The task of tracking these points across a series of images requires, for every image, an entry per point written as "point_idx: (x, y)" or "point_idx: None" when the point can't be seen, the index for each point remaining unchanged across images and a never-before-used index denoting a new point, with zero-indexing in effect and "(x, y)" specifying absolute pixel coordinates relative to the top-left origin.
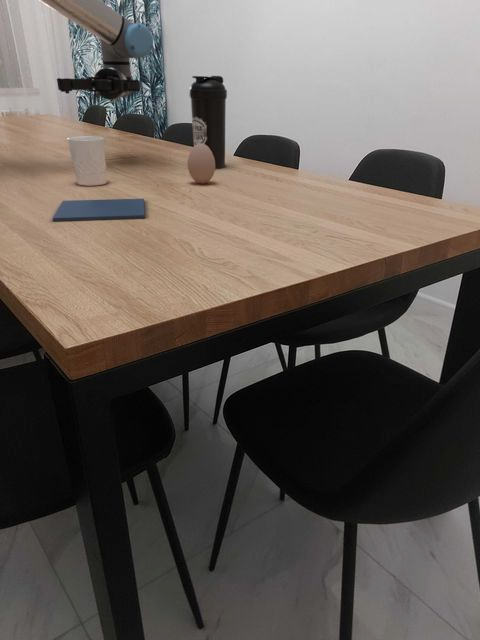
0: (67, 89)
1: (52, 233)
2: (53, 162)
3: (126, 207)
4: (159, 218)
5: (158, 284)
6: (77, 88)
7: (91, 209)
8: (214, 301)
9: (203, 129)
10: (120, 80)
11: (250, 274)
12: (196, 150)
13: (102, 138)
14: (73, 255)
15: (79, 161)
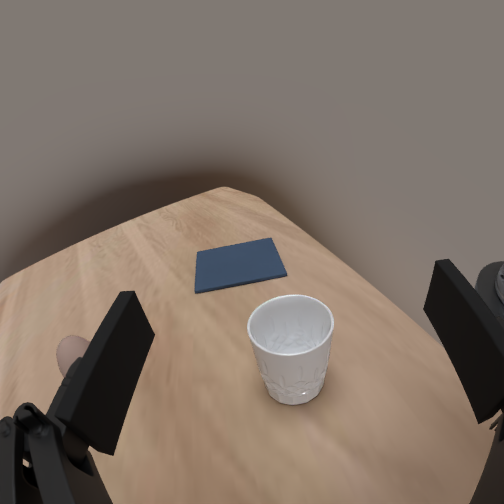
0: (451, 348)
1: (261, 226)
2: None
3: (212, 264)
4: (186, 255)
5: (197, 204)
6: (483, 477)
7: (245, 255)
8: (180, 201)
9: None
10: (122, 293)
11: (160, 213)
12: (81, 337)
13: (252, 337)
14: (237, 211)
15: (301, 328)
